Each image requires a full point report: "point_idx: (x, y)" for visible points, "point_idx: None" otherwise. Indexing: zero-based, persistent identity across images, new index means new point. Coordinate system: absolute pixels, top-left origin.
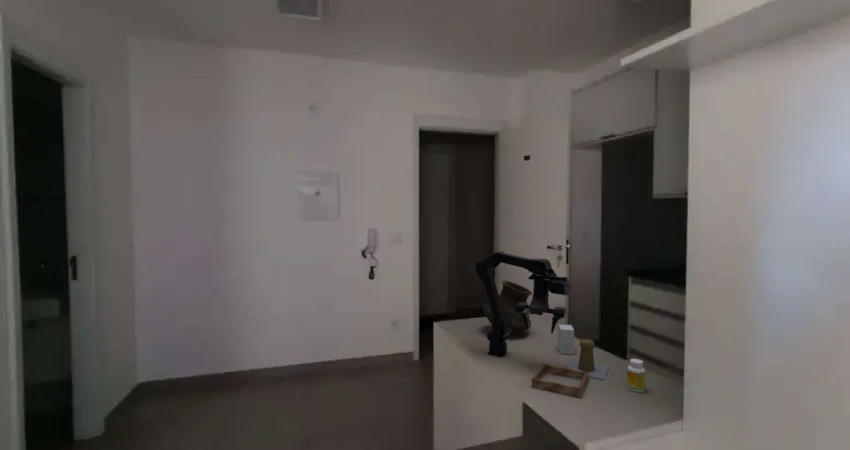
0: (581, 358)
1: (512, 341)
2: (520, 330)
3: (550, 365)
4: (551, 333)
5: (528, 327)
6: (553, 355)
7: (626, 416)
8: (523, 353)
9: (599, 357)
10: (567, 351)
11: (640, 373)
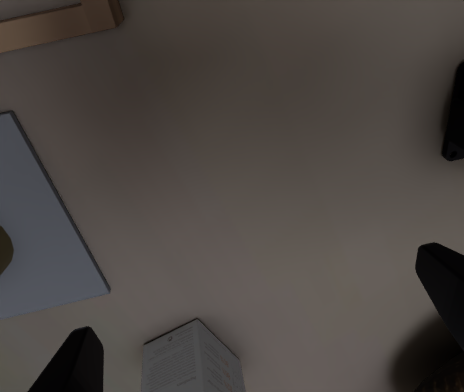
0: None
1: None
2: (439, 372)
3: (40, 24)
4: (84, 328)
5: (442, 275)
6: (213, 285)
7: None
8: (354, 210)
9: None
10: (167, 345)
11: None
